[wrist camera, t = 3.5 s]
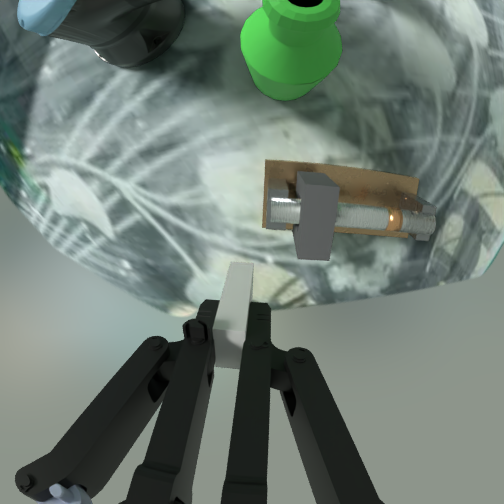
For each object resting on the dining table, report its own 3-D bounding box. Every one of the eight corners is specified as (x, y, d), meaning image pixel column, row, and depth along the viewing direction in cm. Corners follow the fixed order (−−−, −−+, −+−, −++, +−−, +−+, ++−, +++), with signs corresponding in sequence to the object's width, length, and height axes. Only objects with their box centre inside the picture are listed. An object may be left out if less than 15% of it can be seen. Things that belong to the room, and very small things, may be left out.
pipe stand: (262, 225, 42) (260, 253, 33) (265, 159, 37) (264, 169, 29) (405, 235, 41) (431, 262, 32) (416, 177, 36) (448, 193, 28)
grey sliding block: (292, 231, 38) (297, 259, 30) (297, 170, 34) (305, 184, 27) (317, 232, 38) (329, 260, 30) (324, 173, 34) (339, 187, 27)
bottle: (307, 42, 29) (355, -52, 7) (320, 96, 33) (398, 58, 10) (245, 51, 31) (209, -43, 8) (258, 106, 34) (239, 70, 12)
